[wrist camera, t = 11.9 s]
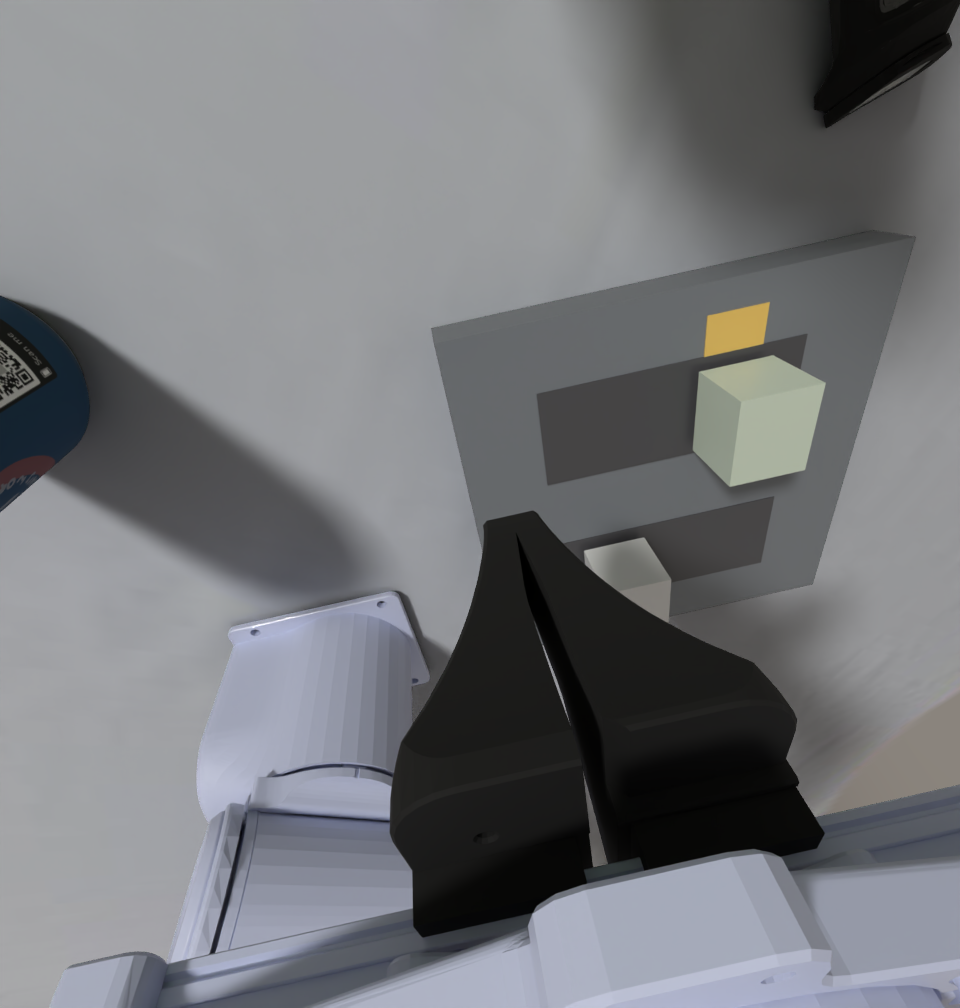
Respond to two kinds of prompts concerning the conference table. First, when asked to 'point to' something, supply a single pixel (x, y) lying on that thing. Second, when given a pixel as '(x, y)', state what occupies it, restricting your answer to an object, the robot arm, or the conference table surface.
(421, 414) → the conference table surface
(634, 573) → the light grey block
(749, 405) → the tab sage
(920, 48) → the electric trimmer
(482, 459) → the switch panel
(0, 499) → the soda can
